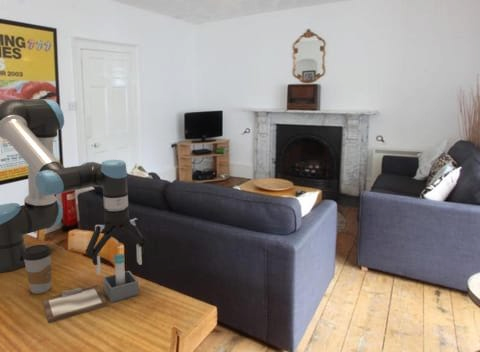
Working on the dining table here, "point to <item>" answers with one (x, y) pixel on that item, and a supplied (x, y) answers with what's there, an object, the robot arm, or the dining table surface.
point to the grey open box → (120, 287)
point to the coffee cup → (38, 268)
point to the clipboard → (73, 303)
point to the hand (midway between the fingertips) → (119, 268)
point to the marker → (119, 269)
